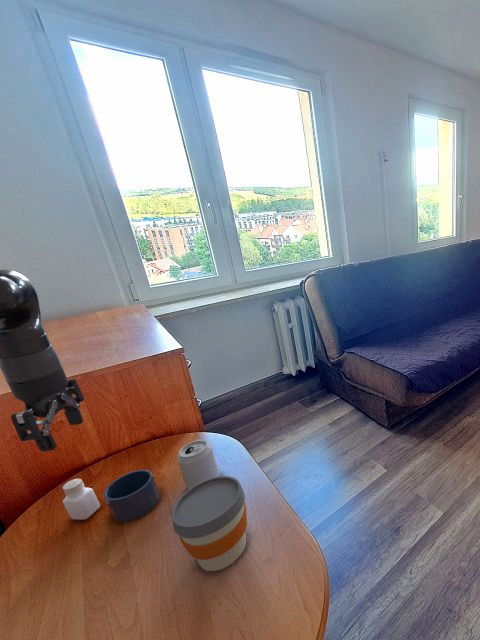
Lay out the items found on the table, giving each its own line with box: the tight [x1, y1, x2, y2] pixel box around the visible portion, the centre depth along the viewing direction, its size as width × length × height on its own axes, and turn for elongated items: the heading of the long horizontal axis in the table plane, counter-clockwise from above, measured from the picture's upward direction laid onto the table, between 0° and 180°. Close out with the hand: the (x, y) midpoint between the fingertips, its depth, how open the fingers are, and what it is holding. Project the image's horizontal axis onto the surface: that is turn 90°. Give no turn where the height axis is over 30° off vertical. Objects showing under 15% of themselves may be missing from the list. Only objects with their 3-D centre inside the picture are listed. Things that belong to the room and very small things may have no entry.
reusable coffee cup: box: [171, 475, 248, 572], centre depth 70 cm, size 13×12×15 cm
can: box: [176, 439, 220, 490], centre depth 87 cm, size 8×8×12 cm
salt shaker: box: [62, 478, 101, 521], centre depth 79 cm, size 4×4×10 cm
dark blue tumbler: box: [103, 469, 161, 523], centre depth 82 cm, size 9×9×7 cm
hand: (63, 436), depth 72 cm, fingers open, 8 cm apart
